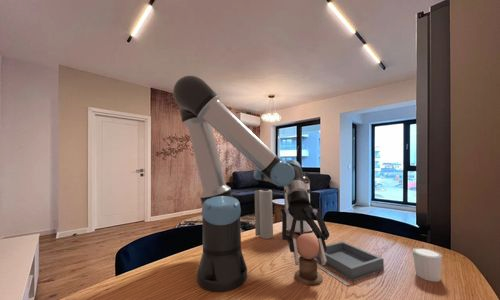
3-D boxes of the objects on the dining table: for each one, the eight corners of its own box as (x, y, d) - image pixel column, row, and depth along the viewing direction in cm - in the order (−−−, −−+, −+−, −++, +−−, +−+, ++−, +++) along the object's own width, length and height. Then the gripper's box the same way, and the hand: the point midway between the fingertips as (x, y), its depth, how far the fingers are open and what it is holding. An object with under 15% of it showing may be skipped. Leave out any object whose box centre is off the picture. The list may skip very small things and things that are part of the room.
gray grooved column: (275, 236, 98) (274, 189, 99) (267, 240, 94) (266, 191, 95) (263, 233, 103) (262, 188, 104) (255, 236, 99) (254, 190, 100)
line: (347, 285, 59) (347, 285, 59) (301, 256, 77) (301, 256, 77) (350, 284, 60) (350, 283, 60) (304, 256, 78) (304, 255, 78)
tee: (306, 288, 58) (305, 265, 59) (289, 274, 66) (288, 253, 66) (328, 281, 62) (327, 259, 62) (310, 268, 69) (309, 249, 69)
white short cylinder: (446, 285, 58) (444, 259, 59) (414, 278, 62) (413, 254, 62) (440, 273, 64) (439, 250, 65) (412, 268, 68) (411, 245, 68)
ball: (305, 265, 59) (305, 240, 60) (291, 255, 66) (290, 232, 66) (325, 260, 62) (324, 235, 63) (309, 251, 69) (308, 229, 69)
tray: (352, 281, 61) (351, 268, 62) (314, 258, 76) (313, 248, 76) (383, 269, 67) (383, 258, 67) (342, 250, 82) (342, 241, 82)
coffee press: (320, 237, 96) (318, 170, 98) (285, 237, 96) (283, 171, 98) (310, 225, 114) (308, 169, 115) (280, 225, 114) (278, 169, 115)
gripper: (322, 201, 80) (342, 267, 63) (269, 202, 80) (275, 268, 63) (327, 189, 75) (350, 257, 58) (270, 189, 75) (276, 258, 58)
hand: (310, 263), depth 60 cm, fingers closed on ball, 7 cm apart
